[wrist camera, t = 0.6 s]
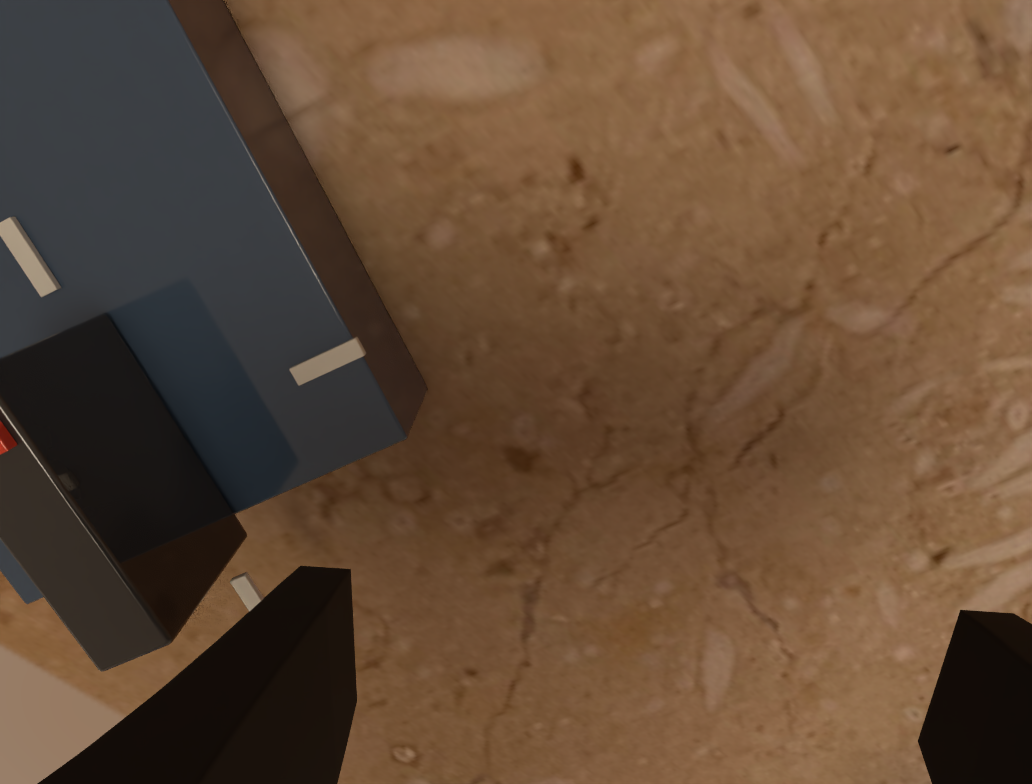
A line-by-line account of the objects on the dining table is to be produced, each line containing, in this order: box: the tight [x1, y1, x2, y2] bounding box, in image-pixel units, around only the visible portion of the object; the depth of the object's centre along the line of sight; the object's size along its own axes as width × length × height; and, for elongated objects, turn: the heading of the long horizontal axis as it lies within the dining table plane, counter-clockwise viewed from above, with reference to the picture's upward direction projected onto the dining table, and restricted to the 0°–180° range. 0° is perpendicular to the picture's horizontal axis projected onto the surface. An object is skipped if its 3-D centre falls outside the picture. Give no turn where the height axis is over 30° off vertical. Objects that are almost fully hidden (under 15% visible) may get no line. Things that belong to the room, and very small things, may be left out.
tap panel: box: [0, 0, 428, 611], centre depth 15 cm, size 17×9×3 cm, turn 25°
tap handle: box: [0, 314, 247, 671], centre depth 13 cm, size 5×1×4 cm, turn 25°
